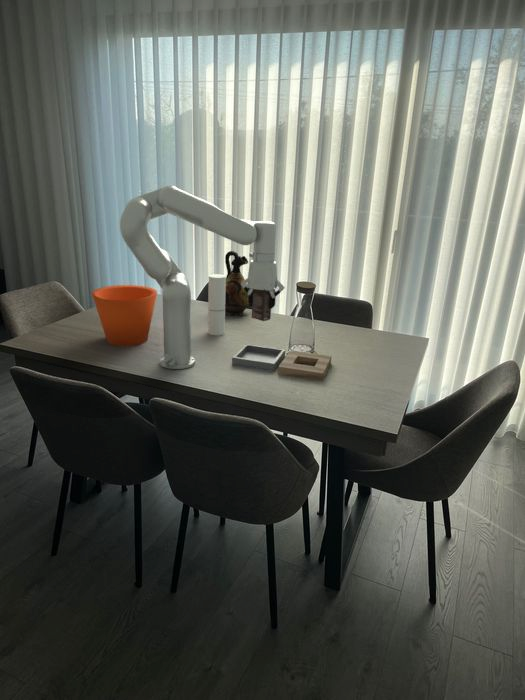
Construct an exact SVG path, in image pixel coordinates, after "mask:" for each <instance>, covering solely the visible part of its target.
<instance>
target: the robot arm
mask: <svg viewBox="0 0 525 700" xmlns="http://www.w3.org/2000/svg"><path fill="white" fill-rule="evenodd" d="M166 214H170V215H172V216H174V217H176V218H179V219H181V220H184V221H186V222H188V223H191V224H193V225H195V226H197V227H200V228H202V229H203V230H206V231H209V232H212V233H214V234H216V235H218V236H219V237H223V238H225V239H227V240H229V241H232V242H235V243H237V244H239V245H241V246H249V245H251V244H253V248H252V249H253V251H252V252H249V255H248V256H249V257H250V258H252V260H250V263H249V268H248V273H247V278H246V279H245V280H244V281H243V282H242V283H241V285H242V287H243V288H244V290H245V291H246V292H247V294H248V295H249V298H248V303H249V305H248V307H252V298H253V290H264V289H265V291H269V292H270V294H271V298H270V309H271V310H273V308H274V307H275V306H276V297H277V296H279V295H280V293H281V292H283V291H284V289H285V288H286V287H285V286H284V285H283V284H282V283H281V282H280V281H279V279H278V268H277V262H276V261H275V254H276V253H275V252H276V251H275V250H276V238H277V236H276V235H277V234H276V232H277V225H276V223H275V222H273V221H267V220H261V221H260V220H258V221H255V220H254V221H253V220H248V219H241V218H238V217H236V216H234V215H232V214H229V213H227V212H226V211H224V210H222V209H220V208H219V207H218V206H216V205H215V204H213V203H211V202H209V201H207V200H205V199H202V198H200V197H197V196H195V195H193V194H190V193H189V192H186V191H184V190H182V189H180V188H178V187H177V186H175V185H165V186H163V187H161V188H158V189H156V190H153V191H149V192H146V193H145V194H141V195H139V196H136V197H133V198H132V199H130V200H129V201H128V202H127V204H126V205H125V207H124V209H123V211H122V214H121V216H120V221H119V232H120V234H121V237H122V239H123V241H124V242H125V245H127V247H128V248H129V250H130V251H131V253H132V254H133V255H134V257H135V258H136V259H137V261H138V263H139V264H140V265H141V267H142V268H143V270H144V271H145V273H146V274H147V276H149V277H150V278H151V279H153V280H155V281H156V282H157V284H158V285H159V287H160V288H161V289H162V316H163V317H162V319H163V320H162V322H163V357H161V358H160V359H159V365H160V366H161V367H163V368H166V369H171V370H183V369H184V370H185V369H189V368H192V367H193V366H194V365H195V364H196V359H195V358H194V357H193V356H191V352H192V350H191V349H192V348H191V347H192V346H191V345H192V344H191V339H192V338H191V335H192V334H191V331H192V330H191V329H192V328H191V324H192V323H191V307H192V306H191V303H192V290H191V286H190V284H189V281H188V278H187V277H186V275H185V274H184V273H183V271H182V270H181V268H180V267H179V266H178V264H177V263H176V262H175V260H174V259H173V257H172V256H171V254H170V253H169V252H168V251H167V250H166V249H164V248H161V247H160V246H159V245H158V243H157V242H156V240H155V238H154V237H153V236H152V235H151V233H150V231H149V229H148V223H149V222H150V220H153V219H156V218H158V217H162V216H163V215H166ZM246 283H247V285H246ZM277 287H278V290H277V291H276V290H275V289H277Z"/></svg>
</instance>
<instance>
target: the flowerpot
mask: <svg viewBox="0 0 525 700" xmlns="http://www.w3.org/2000/svg"><path fill="white" fill-rule="evenodd" d="M91 294H92V298H93V302H94V304H95V308H96V310H97V315H98V318H99V320H100V324H101V326H102V329H103V332H104V335H105V336H104V337H105V340H106V342H107V343H108V344H110V345H113V346H116V347H131V346H133V347H134V346H138V345H142V344H145V343H146V342H147V341H148V338H149V334H150V329H151V323H152V319H153V315H154V310H155V304H156V299H157V296H158V290H156V289H155V288H152V287H148V286H145V285H144V286H143V285H136V284H121V285H120V284H119V285H109V286H104V287H99V288H96V289H94V290H93V291H92V292H91Z"/></svg>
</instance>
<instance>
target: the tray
mask: <svg viewBox="0 0 525 700" xmlns="http://www.w3.org/2000/svg"><path fill="white" fill-rule="evenodd" d="M285 357H286V349H283V348H276V347H269V346H264V345H263V346H261V345H255V344H248V343H246V344H244V346H242V347H241V348H240V349H239V350H238V351H237V352H236V353H235V354H234V355H233V356H232V357H231V365H232V366H236V367H241V368H242V367H243V368H248V369H255V370H263V371H266V372H267V371H269V372H275V371H276V369H278V366H279V365H280V364H281V362H282V361H283V360H284V358H285Z"/></svg>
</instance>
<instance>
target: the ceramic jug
mask: <svg viewBox="0 0 525 700" xmlns="http://www.w3.org/2000/svg"><path fill="white" fill-rule="evenodd" d="M232 256H233V257H234V259H233V260H231V262H230V257H232ZM224 259H225V261H224V263H225V267H226V272H227V273H226V275H225V276H226V288H225V315H229V316H242V315H243V314H244V312H245V310H247V308H248V307H249V304H250V303H248V298H249V295H248V294H247V292H246V291H245V290H244V288H243V287H242V285H241V283H242V282H243V281H244V280H246V279H245V276H244V275H243V274H242V271H241V267H242V266H244V265H248V264H249V261H248V259H247V257H246V256H245V255H243V256H241V255H239V254H238V253H237V252H236V251H234V250H230V251H227V253H226V254H225V257H224ZM231 266H233V267H232V268H231ZM246 285H247V283H246Z"/></svg>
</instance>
